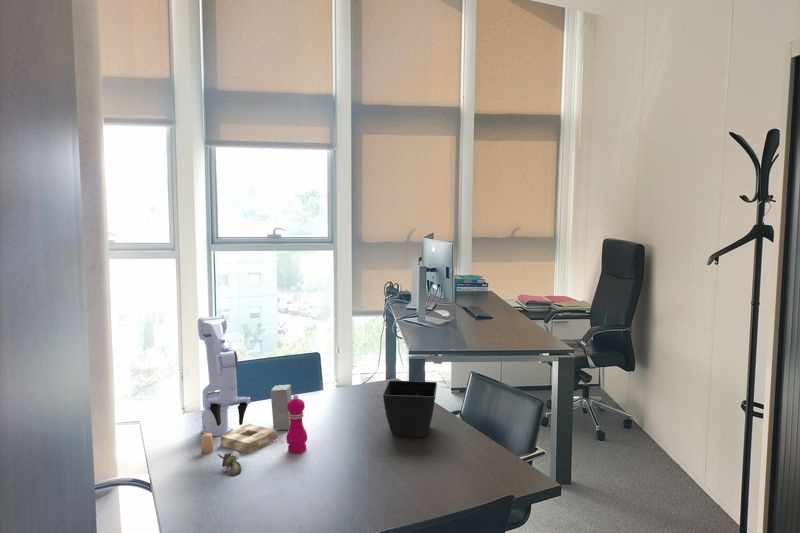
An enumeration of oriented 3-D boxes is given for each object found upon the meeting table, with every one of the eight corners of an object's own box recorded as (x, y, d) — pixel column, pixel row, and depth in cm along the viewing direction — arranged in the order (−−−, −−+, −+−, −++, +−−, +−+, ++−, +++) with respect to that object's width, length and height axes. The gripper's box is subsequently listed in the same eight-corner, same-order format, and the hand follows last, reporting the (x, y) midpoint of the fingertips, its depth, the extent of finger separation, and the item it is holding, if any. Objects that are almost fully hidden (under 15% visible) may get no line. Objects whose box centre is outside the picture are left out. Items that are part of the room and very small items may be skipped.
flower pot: (437, 422, 235) (437, 380, 233) (435, 441, 216) (435, 396, 214) (389, 421, 237) (388, 380, 235) (383, 440, 218) (382, 395, 216)
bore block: (220, 445, 215) (220, 436, 214) (249, 432, 227) (248, 423, 226) (249, 453, 208) (248, 443, 207) (277, 439, 220) (276, 430, 219)
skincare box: (289, 430, 228) (288, 390, 227) (271, 430, 229) (269, 390, 227) (294, 422, 237) (292, 383, 235) (276, 422, 237) (274, 383, 235)
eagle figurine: (211, 466, 195) (216, 471, 187) (222, 445, 197) (228, 449, 190) (232, 474, 198) (238, 480, 190) (242, 453, 200) (249, 458, 192)
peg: (200, 452, 209) (199, 435, 208) (208, 448, 212) (207, 432, 212) (207, 454, 207) (206, 437, 207) (215, 450, 210) (214, 434, 210)
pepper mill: (303, 455, 205) (301, 398, 203) (283, 453, 207) (281, 397, 205) (310, 447, 212) (309, 392, 210) (291, 445, 214) (289, 391, 212)
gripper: (203, 389, 203) (205, 429, 204) (246, 388, 203) (248, 427, 204) (209, 384, 210) (211, 422, 211) (251, 383, 210) (253, 420, 211)
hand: (230, 424), depth 208 cm, fingers open, 7 cm apart
